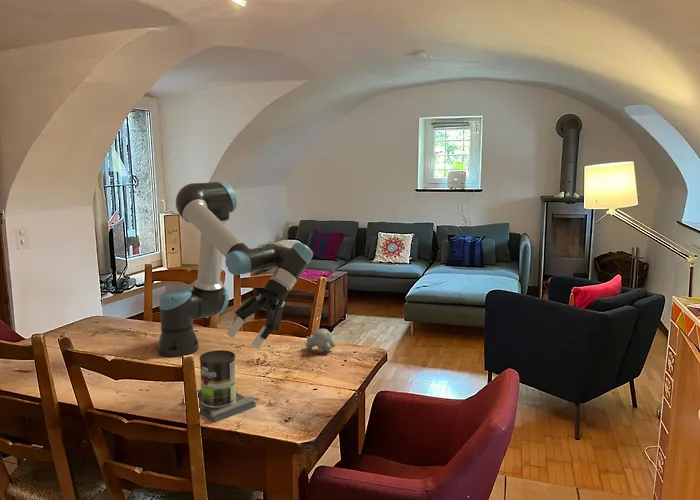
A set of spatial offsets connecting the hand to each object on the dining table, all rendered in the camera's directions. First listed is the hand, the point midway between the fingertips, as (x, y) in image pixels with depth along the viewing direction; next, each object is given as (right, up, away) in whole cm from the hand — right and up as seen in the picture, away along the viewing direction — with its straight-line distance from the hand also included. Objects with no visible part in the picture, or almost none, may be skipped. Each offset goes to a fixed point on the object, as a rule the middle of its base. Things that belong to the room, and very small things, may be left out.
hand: (241, 341), depth 170 cm
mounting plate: (-6, -19, -3) cm, 20 cm away
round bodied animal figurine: (+21, -11, +43) cm, 49 cm away
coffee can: (-6, -18, -3) cm, 19 cm away
